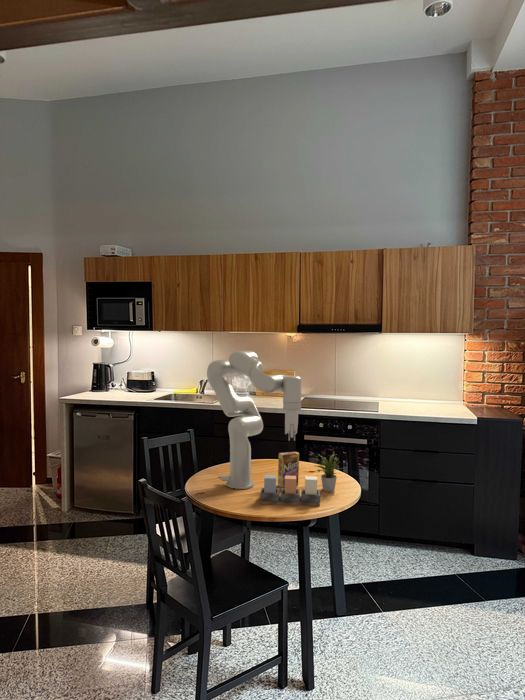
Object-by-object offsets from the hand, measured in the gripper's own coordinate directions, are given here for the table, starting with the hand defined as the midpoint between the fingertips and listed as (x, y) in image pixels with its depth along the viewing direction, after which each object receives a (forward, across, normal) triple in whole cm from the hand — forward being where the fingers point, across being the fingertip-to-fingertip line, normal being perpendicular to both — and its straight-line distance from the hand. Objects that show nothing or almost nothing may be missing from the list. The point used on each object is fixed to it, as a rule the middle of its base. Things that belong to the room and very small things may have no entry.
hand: (291, 449), depth 208 cm
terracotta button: (+19, 0, 0) cm, 19 cm away
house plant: (+22, -18, +16) cm, 33 cm away
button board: (+22, 0, 0) cm, 22 cm away
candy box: (+22, -21, -2) cm, 31 cm away
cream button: (+19, 0, +8) cm, 20 cm away
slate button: (+19, 0, -9) cm, 21 cm away
